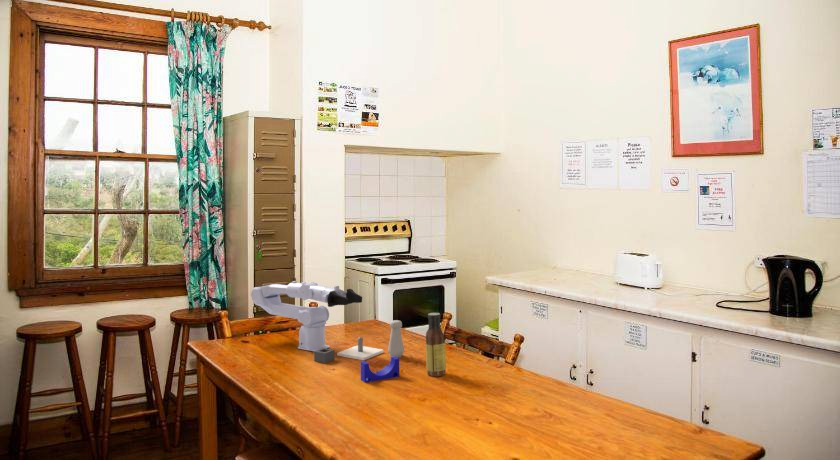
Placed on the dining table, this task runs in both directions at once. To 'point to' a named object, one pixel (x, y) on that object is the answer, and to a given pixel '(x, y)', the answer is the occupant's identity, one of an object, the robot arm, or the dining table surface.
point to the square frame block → (324, 355)
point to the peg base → (360, 351)
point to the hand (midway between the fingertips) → (354, 300)
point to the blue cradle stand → (385, 373)
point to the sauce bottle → (435, 347)
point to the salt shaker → (396, 340)
